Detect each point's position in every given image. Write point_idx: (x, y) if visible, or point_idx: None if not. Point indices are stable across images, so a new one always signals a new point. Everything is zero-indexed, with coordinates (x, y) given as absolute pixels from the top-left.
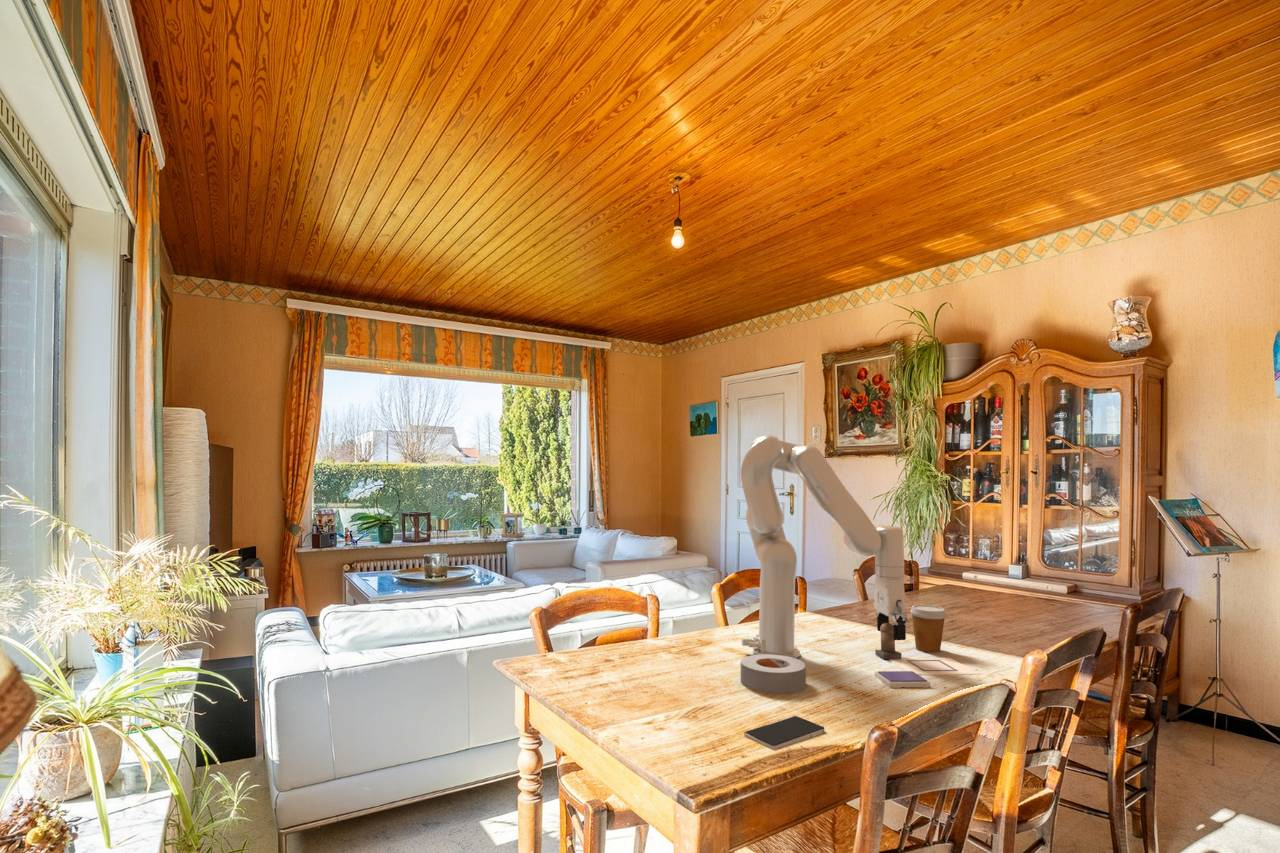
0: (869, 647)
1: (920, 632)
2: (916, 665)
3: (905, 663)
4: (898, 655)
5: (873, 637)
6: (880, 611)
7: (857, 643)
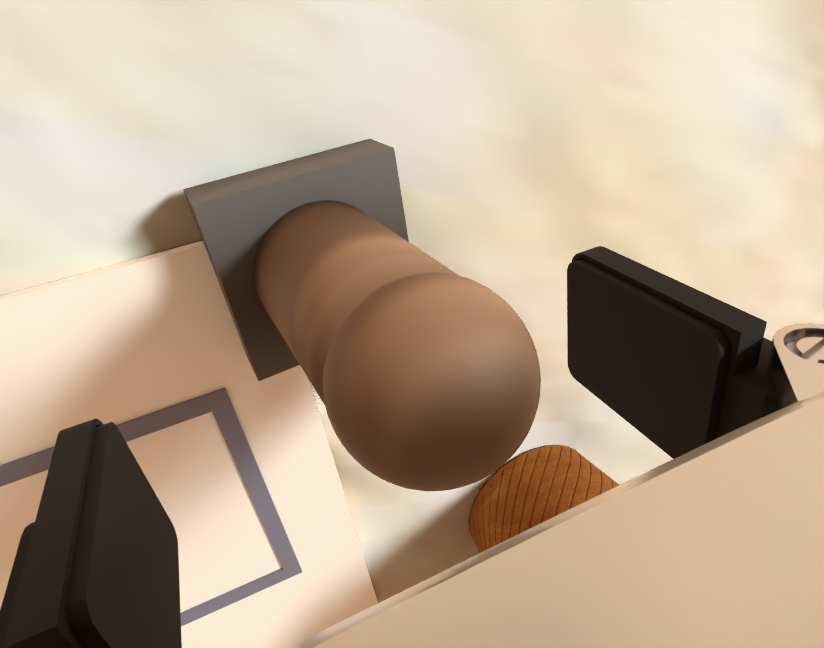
0: (608, 138)
1: None
2: None
3: (105, 377)
4: (244, 347)
5: (805, 222)
6: (599, 530)
7: (716, 54)
